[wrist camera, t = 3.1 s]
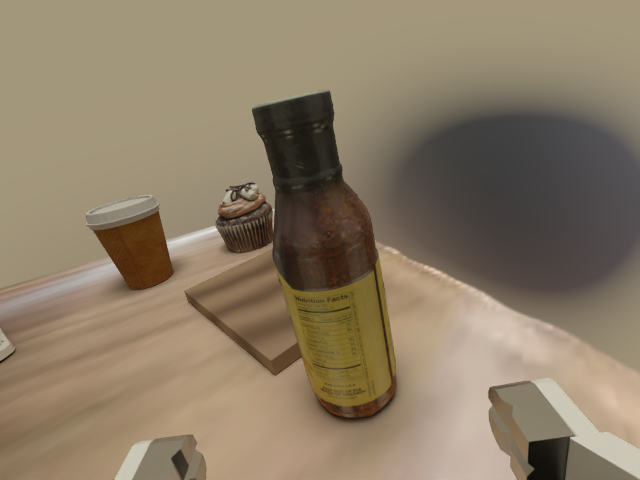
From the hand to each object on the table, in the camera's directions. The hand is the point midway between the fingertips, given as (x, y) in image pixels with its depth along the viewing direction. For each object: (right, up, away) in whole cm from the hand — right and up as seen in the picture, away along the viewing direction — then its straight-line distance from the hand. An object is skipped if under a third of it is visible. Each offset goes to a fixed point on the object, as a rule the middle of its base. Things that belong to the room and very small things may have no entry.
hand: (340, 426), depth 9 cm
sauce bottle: (+2, -6, +15) cm, 16 cm away
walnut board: (-5, -2, +29) cm, 30 cm away
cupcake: (-12, +4, +49) cm, 51 cm away
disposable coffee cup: (-26, -1, +42) cm, 50 cm away
